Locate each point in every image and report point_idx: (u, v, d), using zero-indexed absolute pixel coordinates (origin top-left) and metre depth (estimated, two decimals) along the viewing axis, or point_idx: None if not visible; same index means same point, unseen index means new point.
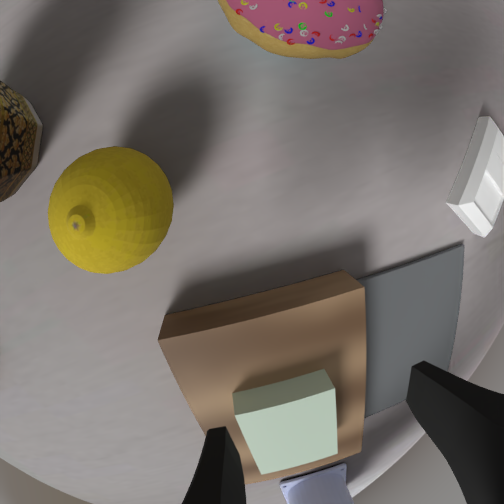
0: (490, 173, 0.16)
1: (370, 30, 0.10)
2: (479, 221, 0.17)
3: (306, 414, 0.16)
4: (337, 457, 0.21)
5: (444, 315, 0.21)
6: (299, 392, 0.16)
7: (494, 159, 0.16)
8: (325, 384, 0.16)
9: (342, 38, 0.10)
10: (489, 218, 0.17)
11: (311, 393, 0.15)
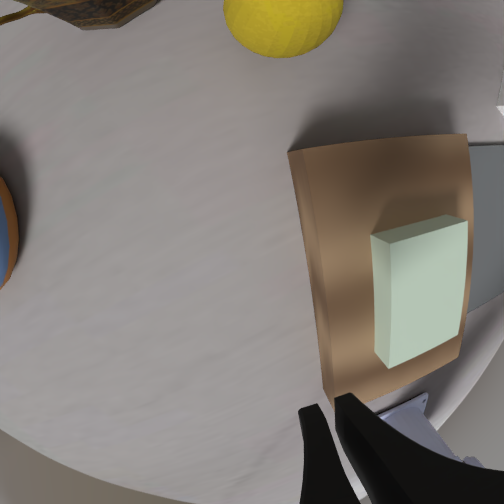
0: None
1: None
2: None
3: (447, 253, 0.14)
4: (439, 361, 0.19)
5: None
6: (439, 225, 0.14)
7: None
8: (457, 220, 0.14)
9: None
10: None
11: (450, 224, 0.13)
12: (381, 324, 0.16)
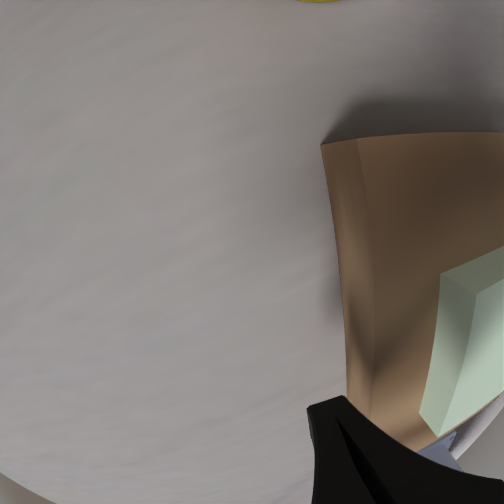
0: None
1: None
2: None
3: None
4: None
5: None
6: None
7: None
8: None
9: None
10: None
11: None
12: (437, 388, 0.10)
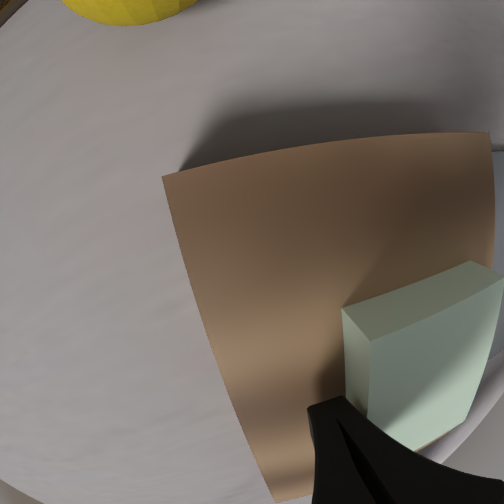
0: None
1: None
2: None
3: (468, 333, 0.08)
4: None
5: None
6: (461, 288, 0.08)
7: None
8: (488, 274, 0.08)
9: None
10: None
11: (479, 287, 0.07)
12: None
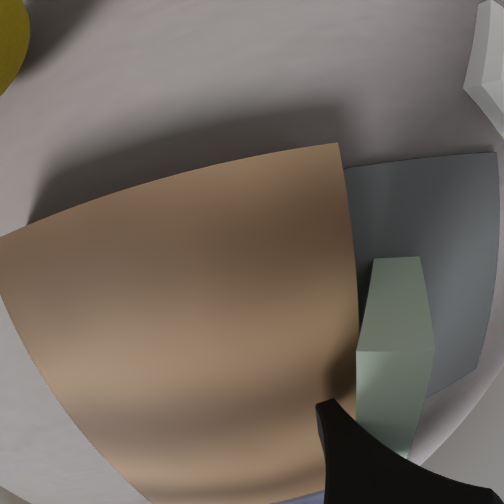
0: None
1: None
2: None
3: None
4: (314, 488, 0.12)
5: (479, 262, 0.13)
6: (408, 278, 0.09)
7: None
8: (406, 260, 0.11)
9: None
10: None
11: (417, 270, 0.09)
12: None
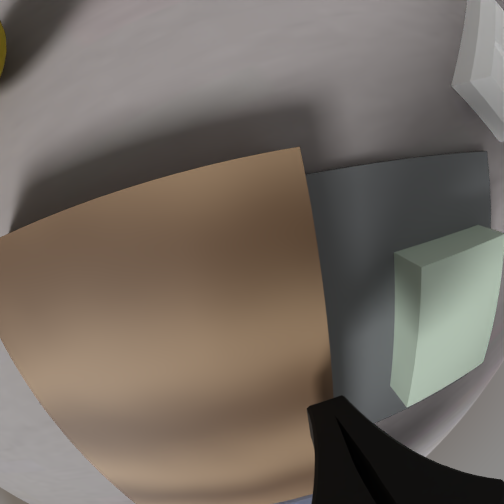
0: (502, 48, 0.07)
1: None
2: None
3: None
4: (295, 493, 0.12)
5: None
6: (435, 244, 0.11)
7: (502, 33, 0.07)
8: (408, 253, 0.11)
9: None
10: None
11: (420, 245, 0.11)
12: None
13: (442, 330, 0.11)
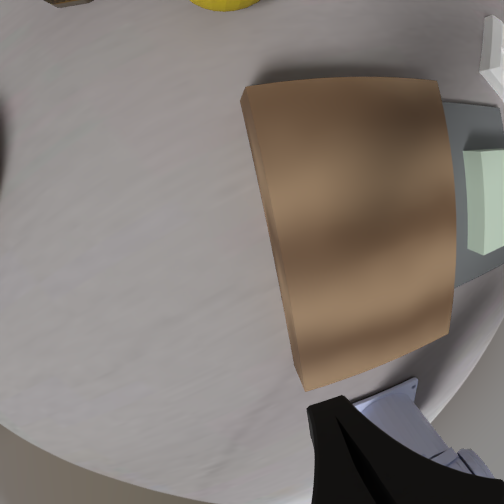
0: None
1: None
2: None
3: None
4: (426, 336, 0.18)
5: None
6: None
7: None
8: (470, 150, 0.16)
9: None
10: None
11: (474, 150, 0.17)
12: None
13: (494, 196, 0.16)
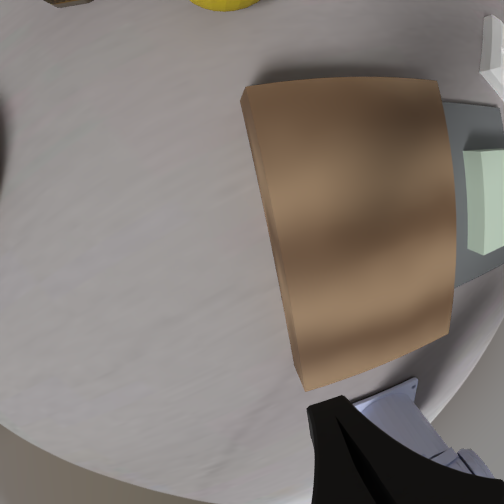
0: None
1: None
2: None
3: None
4: (426, 336, 0.18)
5: None
6: None
7: None
8: (470, 150, 0.16)
9: None
10: None
11: (474, 150, 0.17)
12: None
13: (494, 196, 0.16)
